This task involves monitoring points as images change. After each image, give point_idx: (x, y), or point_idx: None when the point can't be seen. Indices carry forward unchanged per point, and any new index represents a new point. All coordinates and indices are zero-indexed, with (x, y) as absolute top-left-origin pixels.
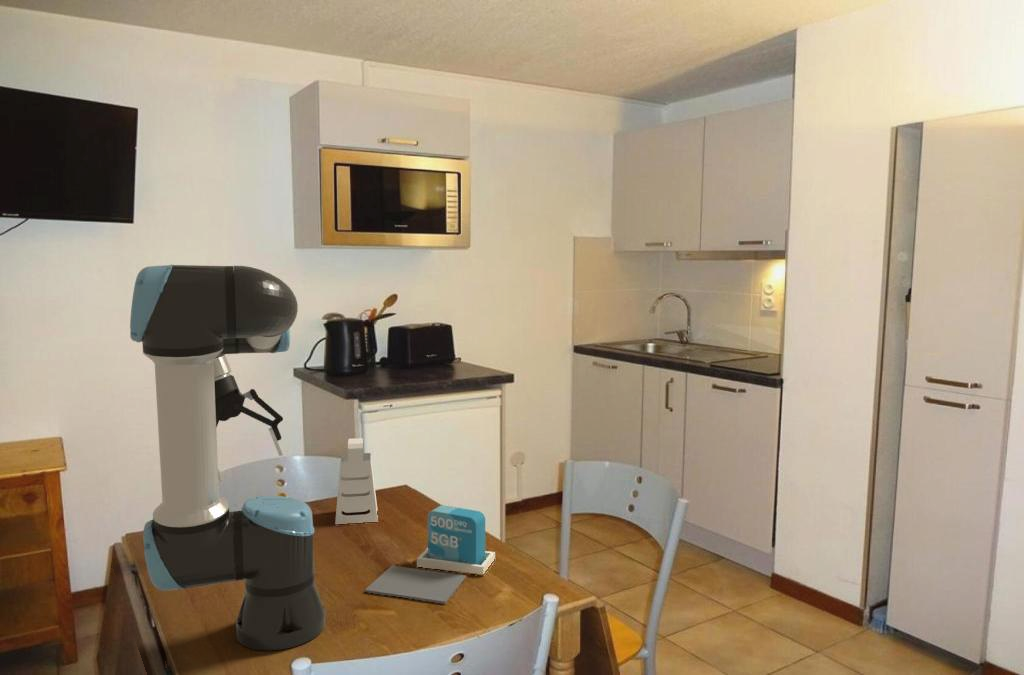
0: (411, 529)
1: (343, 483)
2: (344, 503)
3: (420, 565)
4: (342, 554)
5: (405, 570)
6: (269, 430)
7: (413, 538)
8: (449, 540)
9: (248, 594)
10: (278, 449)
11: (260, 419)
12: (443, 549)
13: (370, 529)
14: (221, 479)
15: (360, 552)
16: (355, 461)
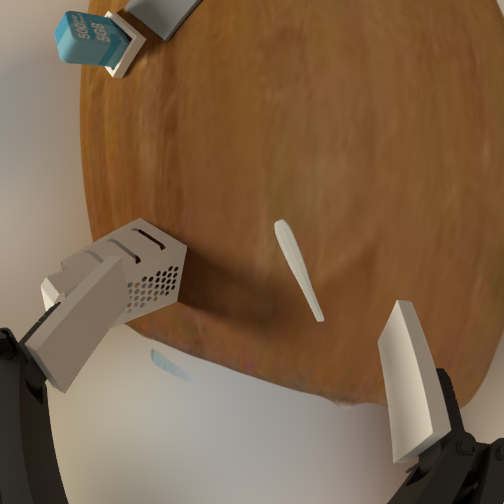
0: (116, 167)
1: None
2: (148, 253)
3: (142, 36)
4: (204, 110)
5: (158, 24)
6: (37, 346)
7: (121, 133)
8: (98, 28)
9: None
10: (99, 273)
11: (10, 423)
12: (110, 34)
13: (151, 196)
14: (400, 302)
15: (181, 108)
16: (74, 275)
